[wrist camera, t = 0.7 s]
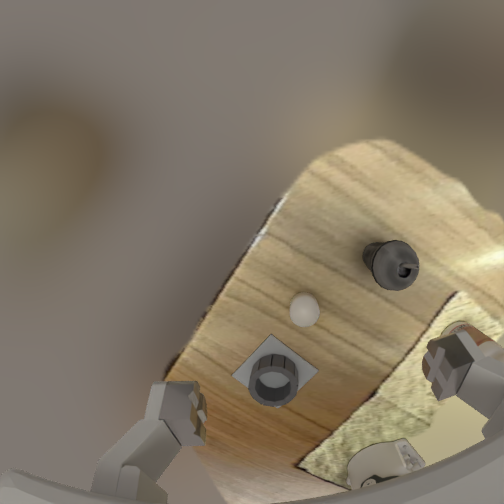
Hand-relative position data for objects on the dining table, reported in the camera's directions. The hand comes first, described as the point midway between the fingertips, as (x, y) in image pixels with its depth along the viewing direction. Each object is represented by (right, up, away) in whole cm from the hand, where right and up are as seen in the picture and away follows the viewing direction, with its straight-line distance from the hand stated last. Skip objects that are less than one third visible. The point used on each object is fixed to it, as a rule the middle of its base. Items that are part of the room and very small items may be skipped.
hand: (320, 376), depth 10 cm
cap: (+7, -5, +45) cm, 46 cm away
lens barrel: (+2, -19, +47) cm, 51 cm away
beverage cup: (+19, +3, +43) cm, 47 cm away
